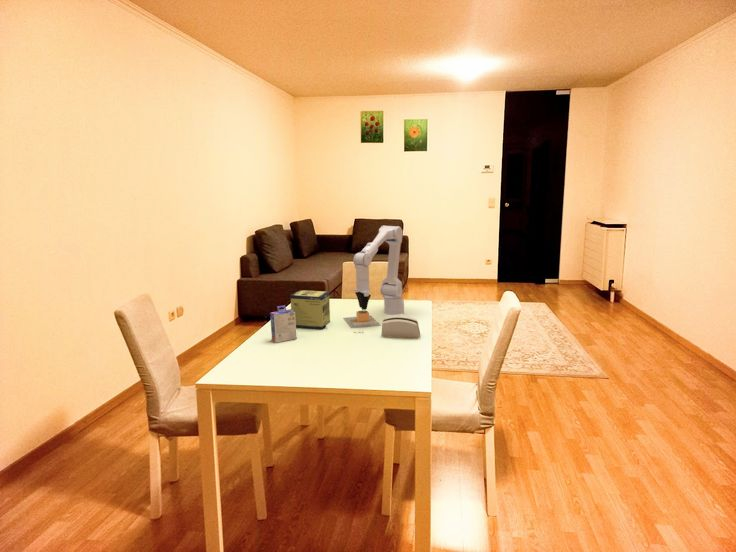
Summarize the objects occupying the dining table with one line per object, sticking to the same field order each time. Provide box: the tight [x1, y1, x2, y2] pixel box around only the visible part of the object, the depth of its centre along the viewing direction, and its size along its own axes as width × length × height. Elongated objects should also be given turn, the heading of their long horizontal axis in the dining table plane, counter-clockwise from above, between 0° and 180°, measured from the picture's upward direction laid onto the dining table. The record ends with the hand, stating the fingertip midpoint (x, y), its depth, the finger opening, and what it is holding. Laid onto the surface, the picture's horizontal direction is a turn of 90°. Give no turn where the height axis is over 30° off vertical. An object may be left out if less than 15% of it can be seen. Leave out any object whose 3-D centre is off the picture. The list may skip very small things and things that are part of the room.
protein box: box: [290, 289, 331, 331], centre depth 237 cm, size 10×16×16 cm
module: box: [355, 309, 370, 322], centre depth 235 cm, size 5×4×5 cm
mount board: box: [342, 315, 382, 329], centre depth 240 cm, size 14×18×1 cm
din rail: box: [350, 316, 378, 327], centre depth 236 cm, size 11×7×2 cm, turn 104°
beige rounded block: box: [381, 315, 421, 339], centre depth 220 cm, size 17×5×10 cm, turn 78°
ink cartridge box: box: [269, 304, 298, 343], centre depth 218 cm, size 10×6×14 cm, turn 121°
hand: (363, 308), depth 235 cm, fingers open, 3 cm apart
